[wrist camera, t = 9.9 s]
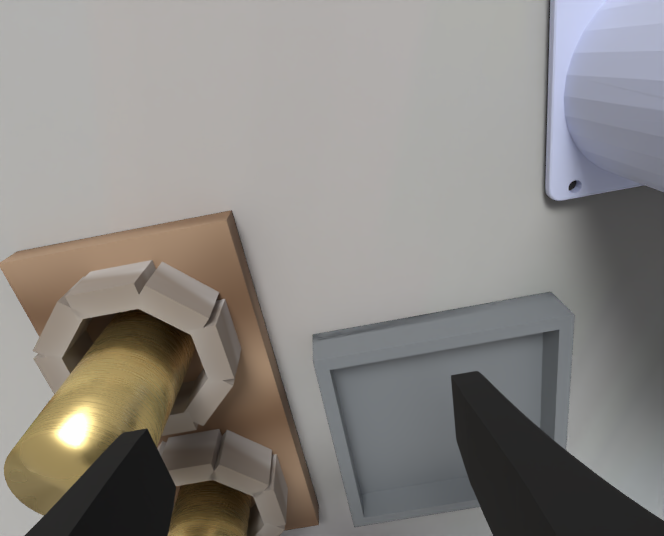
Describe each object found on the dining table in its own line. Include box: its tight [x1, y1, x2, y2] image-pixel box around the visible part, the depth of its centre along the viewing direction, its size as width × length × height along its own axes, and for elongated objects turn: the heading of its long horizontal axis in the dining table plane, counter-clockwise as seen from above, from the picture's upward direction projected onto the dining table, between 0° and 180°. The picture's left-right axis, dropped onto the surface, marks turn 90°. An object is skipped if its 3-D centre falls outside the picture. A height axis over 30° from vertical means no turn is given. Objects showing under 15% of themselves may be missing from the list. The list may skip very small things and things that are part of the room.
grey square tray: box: [313, 292, 575, 527], centre depth 22 cm, size 11×11×2 cm
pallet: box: [0, 210, 319, 536], centre depth 20 cm, size 18×9×3 cm, turn 11°
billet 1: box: [4, 309, 196, 515], centre depth 16 cm, size 4×4×7 cm
